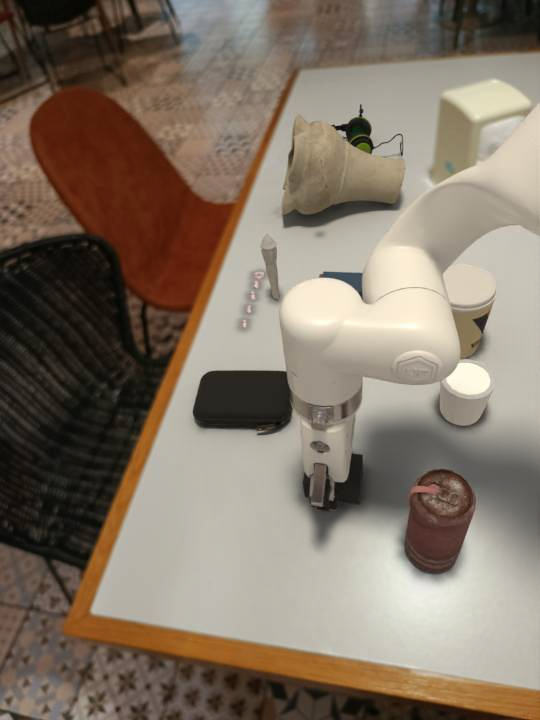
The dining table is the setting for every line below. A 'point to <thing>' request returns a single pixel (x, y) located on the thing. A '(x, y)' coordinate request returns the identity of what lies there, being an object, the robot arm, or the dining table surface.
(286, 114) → the dining table surface
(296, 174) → the vase
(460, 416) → the white short cylinder
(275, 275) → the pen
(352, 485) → the pad
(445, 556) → the can
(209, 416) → the carrying case
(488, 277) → the coffee cup
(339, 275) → the blue block
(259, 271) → the flower petals
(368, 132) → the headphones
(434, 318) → the robot arm
